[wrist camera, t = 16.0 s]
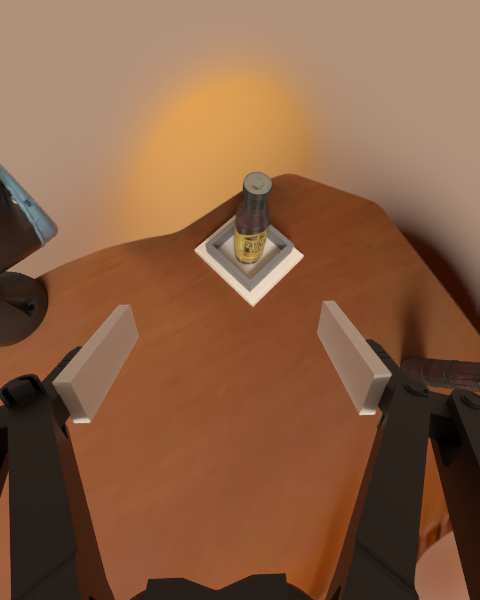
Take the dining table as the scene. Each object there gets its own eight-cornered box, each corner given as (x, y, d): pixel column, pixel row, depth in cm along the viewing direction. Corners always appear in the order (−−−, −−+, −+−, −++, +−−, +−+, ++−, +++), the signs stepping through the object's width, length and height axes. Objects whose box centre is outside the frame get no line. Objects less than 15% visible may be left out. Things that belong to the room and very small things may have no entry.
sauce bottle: (243, 271, 50) (247, 211, 31) (228, 249, 51) (223, 178, 32) (269, 256, 51) (287, 189, 32) (253, 235, 53) (262, 159, 33)
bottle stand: (195, 252, 53) (191, 241, 48) (245, 209, 56) (246, 195, 51) (252, 306, 49) (254, 300, 45) (302, 258, 52) (308, 247, 48)
